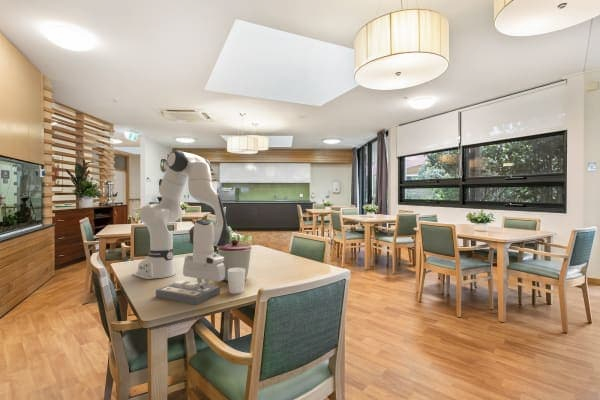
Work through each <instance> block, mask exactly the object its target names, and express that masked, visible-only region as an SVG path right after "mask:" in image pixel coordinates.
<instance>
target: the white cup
mask: <svg viewBox="0 0 600 400" xmlns="http://www.w3.org/2000/svg"><path fill="white" fill-rule="evenodd" d="M245 281H246V278H245V269H244V268H231V269H228V281H227V284H228V292H229V293H230V294H235V295H236V294H241V293H243V292H244V291H245Z"/></svg>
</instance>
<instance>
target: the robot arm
mask: <svg viewBox="0 0 600 400" xmlns="http://www.w3.org/2000/svg"><path fill="white" fill-rule="evenodd" d="M166 163H167V169H166V170H165V173H164V175H163V178H162V180H161V183H160V186H159V188H158V193H159V194H160V195H161V201H160V203H149V204H145V205H143V206H141V208H140V210H139V214H138V216H139V217H138V218H139V219H140V221H141V222H142V223H143V224H145V226H146V228H147V230H148V233H149V242H150V243H149V244H150V245H149V246H150V249H148V250H147V251H146V254H147V256H146V257H145V258H144V259H142V260H141V261H140V262H139V263H138V264H137V265H138V266H137V270H136V271H134V272H132V275H133V276H135V277H139V278H142V279H145V280H151V279H163V278H170V277H172V276H175V275H176V268H175V260H174V259H175V258H174V253H175V251H174V250H175V249H174V248H173V247H174V243H173V242H174V241H173V240H174V239H173V238H174V234H173V233H172V232H171V231H169V229H168V225H167V224H170V223H174V222H177V221H178V220H180V219H181V218H182V216H183V209H182V206H181V203H180V202H181V201H180V200H181V196H182V194H183V190H184V187H185V184H186V182H187V185H188V187H187V188H188V193H189V195H190V196H191V197H192V198H193V199H194V200H195V201H198V202H200V203H202V204H206V205H208V206H210V207H211V208H212V209H213V211H214V214H215V219H216V223H217V224H214V222H213V221H212V220H211V219H205V218H202V219H197V220H195V222H194V226H192V227H191V228H190V229H189V230H188V234H189V235H188V243H189V244H191V245H192V246H193V249H192V255H191V254H189V255H186V256H185V257H184V263H183V268H182V275H183V277H188V278H194V279H196V282H197V283H198V284H199V288H200V289H207V285H209V283H210V282H211V281H213V282H219V283H220V282H221V281H224V280H223V279H224V278H225V266H224V264H223V263H222V262H223V261H224V257H223V256H221V255H219V254H218V252H215V247H219V246H224V245H226V244H229V242H230V240H231V232H230V229H229V228H230V227H229V225H228V223H227V218H226V213H225V209H224V205H223V201H222V199H221V195H220V194H219V192H217V191H216V190H215V189H214V186H213V177H212V176H213V175H212V172H211V170H212V164H211V161H209V159H207V158H206V157H202V156H199V155H197V154H194V153H190V152H187V151H186V152H185V151H183V150H173V151H170V153H169V155H168V156H167V161H166ZM187 179H188V180H187Z"/></svg>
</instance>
